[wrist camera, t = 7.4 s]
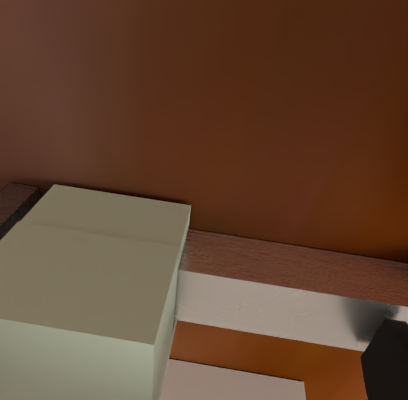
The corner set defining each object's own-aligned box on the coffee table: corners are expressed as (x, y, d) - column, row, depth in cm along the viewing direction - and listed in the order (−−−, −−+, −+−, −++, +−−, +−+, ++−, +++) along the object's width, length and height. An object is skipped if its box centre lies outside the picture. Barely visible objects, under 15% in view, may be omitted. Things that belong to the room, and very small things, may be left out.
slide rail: (484, 255, 11) (565, 355, 8) (427, 330, 13) (474, 429, 11) (10, 182, 12) (-68, 250, 9) (31, 265, 14) (-26, 341, 11)
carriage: (191, 204, 11) (153, 345, 7) (181, 300, 14) (150, 444, 10) (54, 182, 11) (-63, 307, 7) (70, 282, 14) (-7, 415, 10)
